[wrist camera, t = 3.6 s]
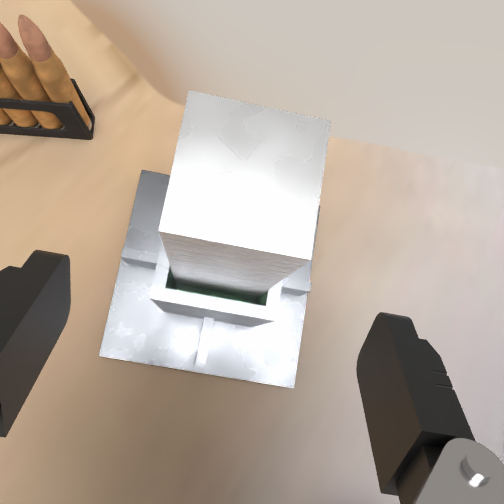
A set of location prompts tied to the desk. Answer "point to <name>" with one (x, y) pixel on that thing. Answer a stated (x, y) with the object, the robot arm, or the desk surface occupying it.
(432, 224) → the desk surface
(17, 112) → the ammunition clip
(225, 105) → the column
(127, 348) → the grey socket base
